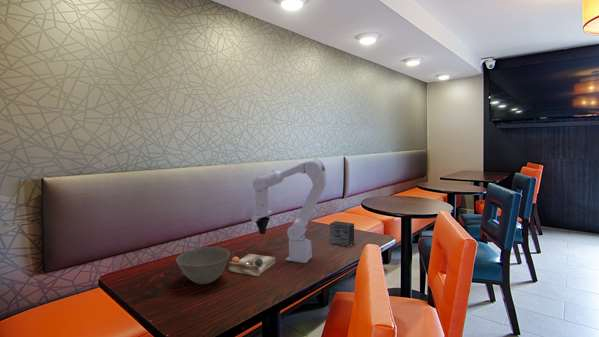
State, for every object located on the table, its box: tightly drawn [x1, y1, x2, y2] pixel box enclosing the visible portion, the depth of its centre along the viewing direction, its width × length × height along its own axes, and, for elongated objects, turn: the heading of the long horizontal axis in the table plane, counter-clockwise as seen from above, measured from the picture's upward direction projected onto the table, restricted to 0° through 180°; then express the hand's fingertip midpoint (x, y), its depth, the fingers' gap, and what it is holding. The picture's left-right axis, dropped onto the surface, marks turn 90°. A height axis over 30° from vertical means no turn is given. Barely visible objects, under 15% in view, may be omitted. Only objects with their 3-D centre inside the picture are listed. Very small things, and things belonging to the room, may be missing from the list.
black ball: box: [255, 258, 263, 266], centre depth 125 cm, size 3×3×3 cm
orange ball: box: [231, 256, 240, 263], centre depth 127 cm, size 3×3×3 cm
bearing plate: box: [228, 253, 277, 277], centre depth 129 cm, size 13×15×4 cm
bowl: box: [175, 246, 231, 285], centre depth 116 cm, size 19×19×10 cm
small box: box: [329, 220, 355, 247], centre depth 156 cm, size 11×6×10 cm, turn 58°
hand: (262, 233), depth 141 cm, fingers closed
